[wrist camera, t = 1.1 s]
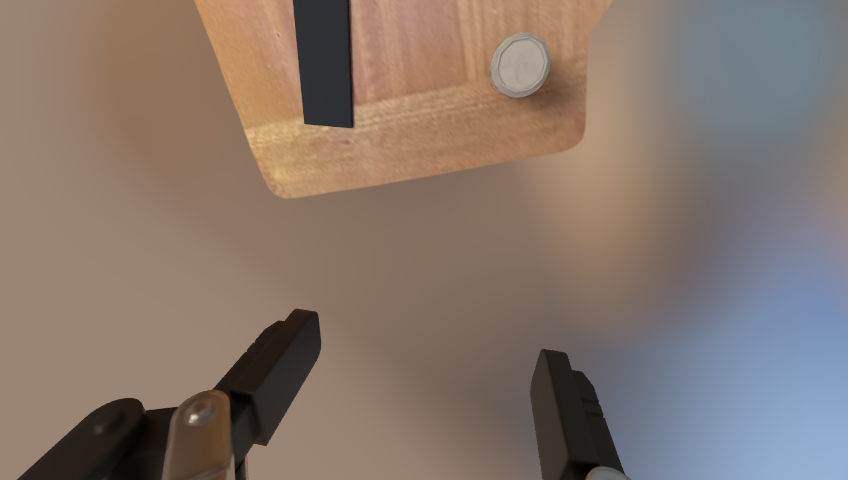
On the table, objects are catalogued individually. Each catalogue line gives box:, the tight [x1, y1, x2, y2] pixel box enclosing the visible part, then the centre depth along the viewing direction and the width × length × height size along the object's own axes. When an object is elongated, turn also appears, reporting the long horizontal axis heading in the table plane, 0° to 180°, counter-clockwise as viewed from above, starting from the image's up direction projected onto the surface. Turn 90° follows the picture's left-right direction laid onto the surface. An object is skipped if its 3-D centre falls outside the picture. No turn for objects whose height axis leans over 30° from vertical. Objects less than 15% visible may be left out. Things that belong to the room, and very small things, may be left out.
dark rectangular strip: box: [293, 0, 353, 128], centre depth 39 cm, size 15×6×1 cm, turn 177°
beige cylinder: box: [489, 32, 551, 98], centre depth 32 cm, size 5×5×12 cm
